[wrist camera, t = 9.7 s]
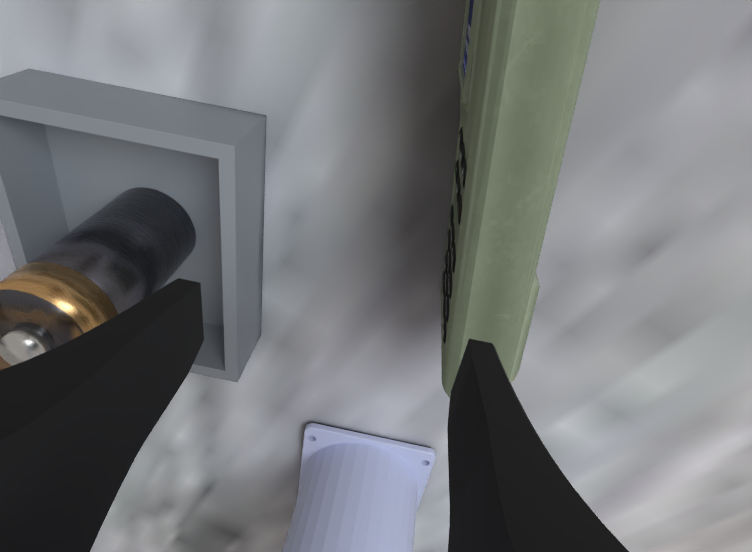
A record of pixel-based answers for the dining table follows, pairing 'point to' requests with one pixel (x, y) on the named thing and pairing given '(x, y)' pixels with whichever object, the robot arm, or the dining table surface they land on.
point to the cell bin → (142, 169)
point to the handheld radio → (507, 166)
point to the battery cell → (94, 273)
